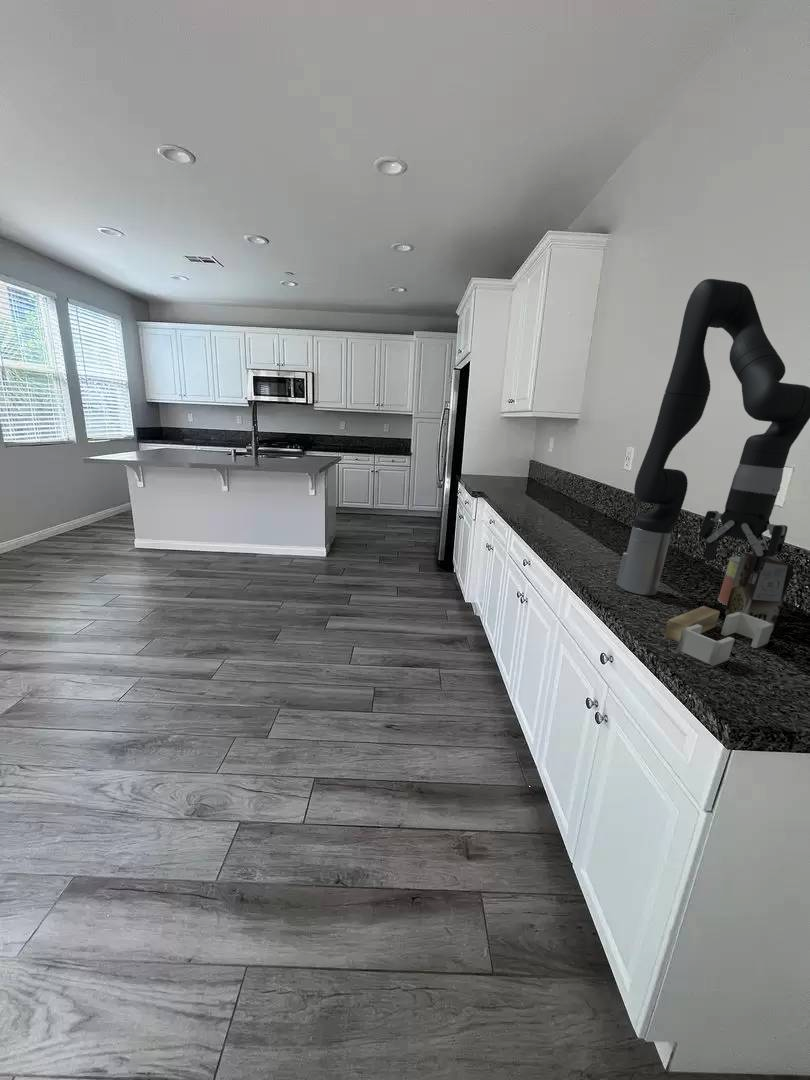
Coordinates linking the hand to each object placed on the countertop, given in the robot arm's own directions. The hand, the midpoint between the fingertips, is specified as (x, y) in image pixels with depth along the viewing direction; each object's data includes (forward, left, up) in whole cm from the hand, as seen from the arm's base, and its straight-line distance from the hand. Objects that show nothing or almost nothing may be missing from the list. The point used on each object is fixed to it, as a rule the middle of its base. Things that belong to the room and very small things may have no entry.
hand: (730, 566), depth 91 cm
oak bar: (-3, -2, -16) cm, 17 cm away
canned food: (-6, +31, -16) cm, 35 cm away
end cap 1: (+4, -12, -16) cm, 20 cm away
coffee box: (0, +18, -16) cm, 24 cm away
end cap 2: (+4, +6, -16) cm, 17 cm away
